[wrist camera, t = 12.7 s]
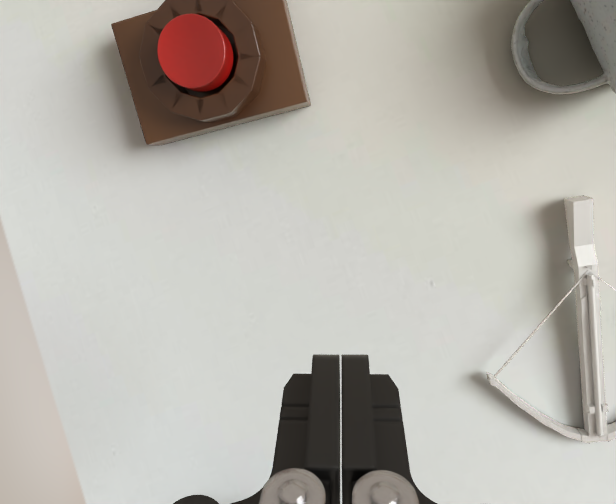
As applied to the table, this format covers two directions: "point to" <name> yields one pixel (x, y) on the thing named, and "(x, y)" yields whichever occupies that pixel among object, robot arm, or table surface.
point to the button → (195, 53)
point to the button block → (240, 83)
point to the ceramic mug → (602, 35)
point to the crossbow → (580, 330)
